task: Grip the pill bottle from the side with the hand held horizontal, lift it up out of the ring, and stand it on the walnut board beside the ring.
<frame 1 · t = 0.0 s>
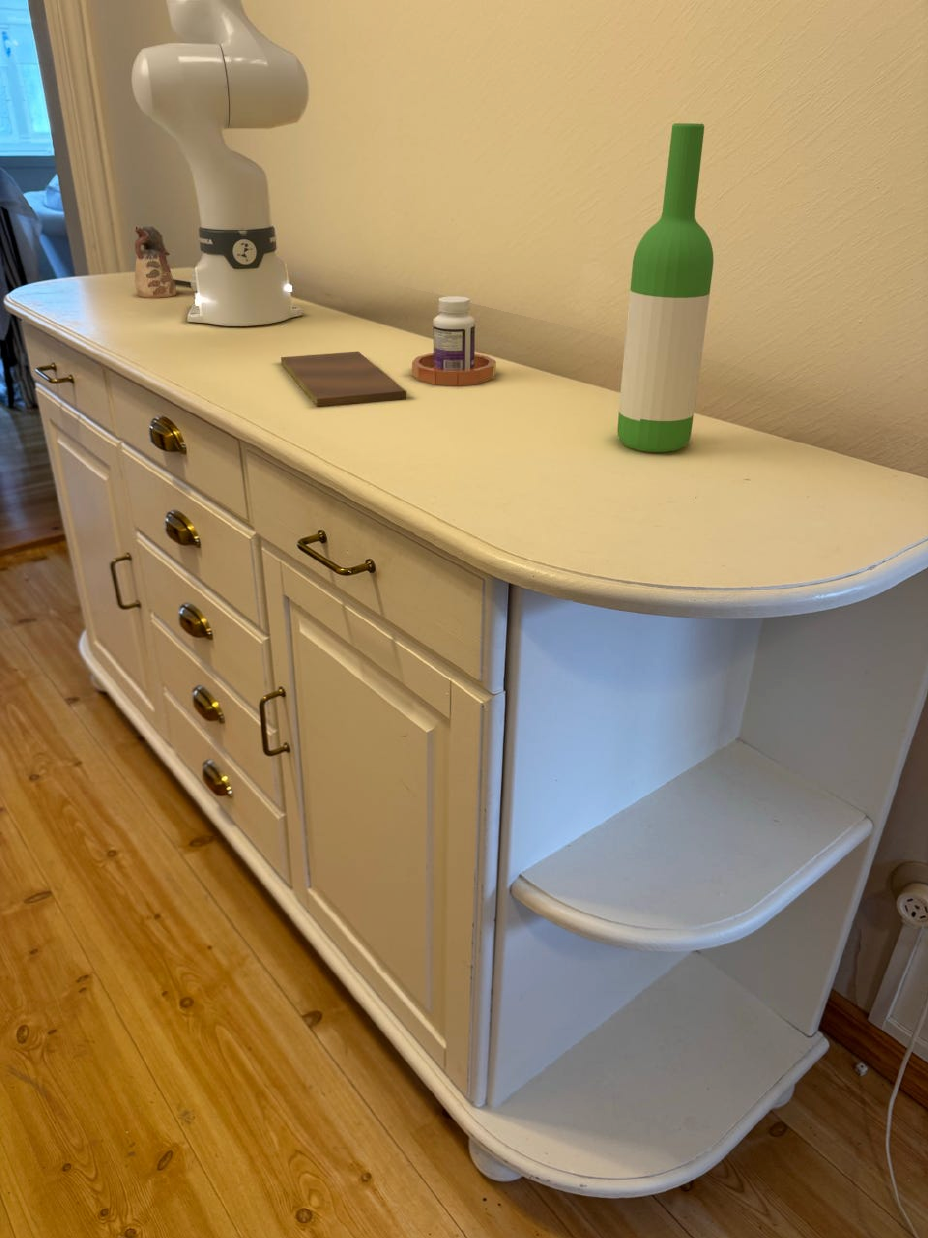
board: (340, 380, 120), on the table
wine bottle: (652, 445, 98), on the table
figurine: (157, 295, 173), on the table
pill bottle: (453, 376, 123), resting in ring
ring: (453, 374, 123), on the table
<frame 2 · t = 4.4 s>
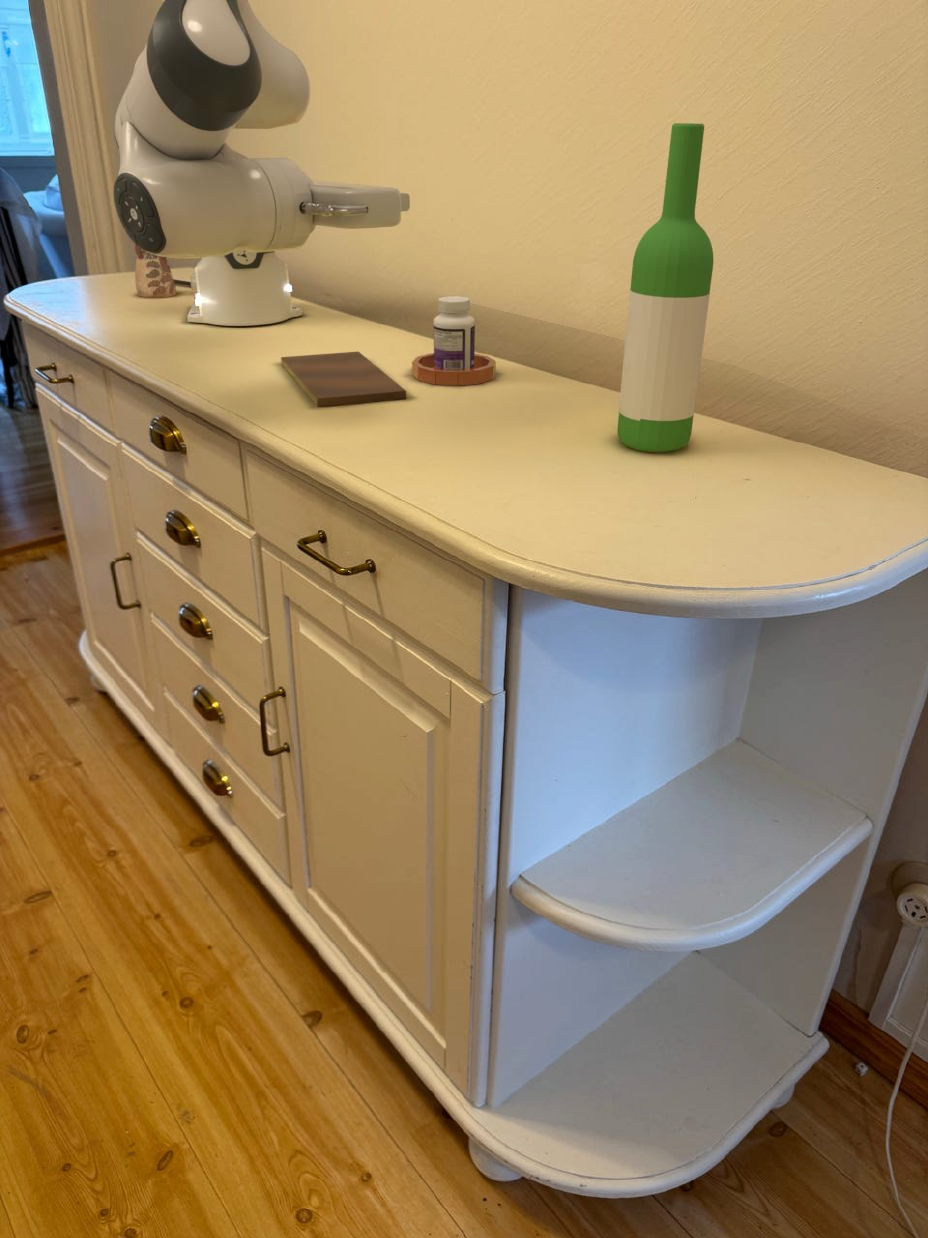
hand: (378, 198, 105), 22 cm above the table, tool horizontal, fingers open, 8 cm apart
nothing on the table moved.
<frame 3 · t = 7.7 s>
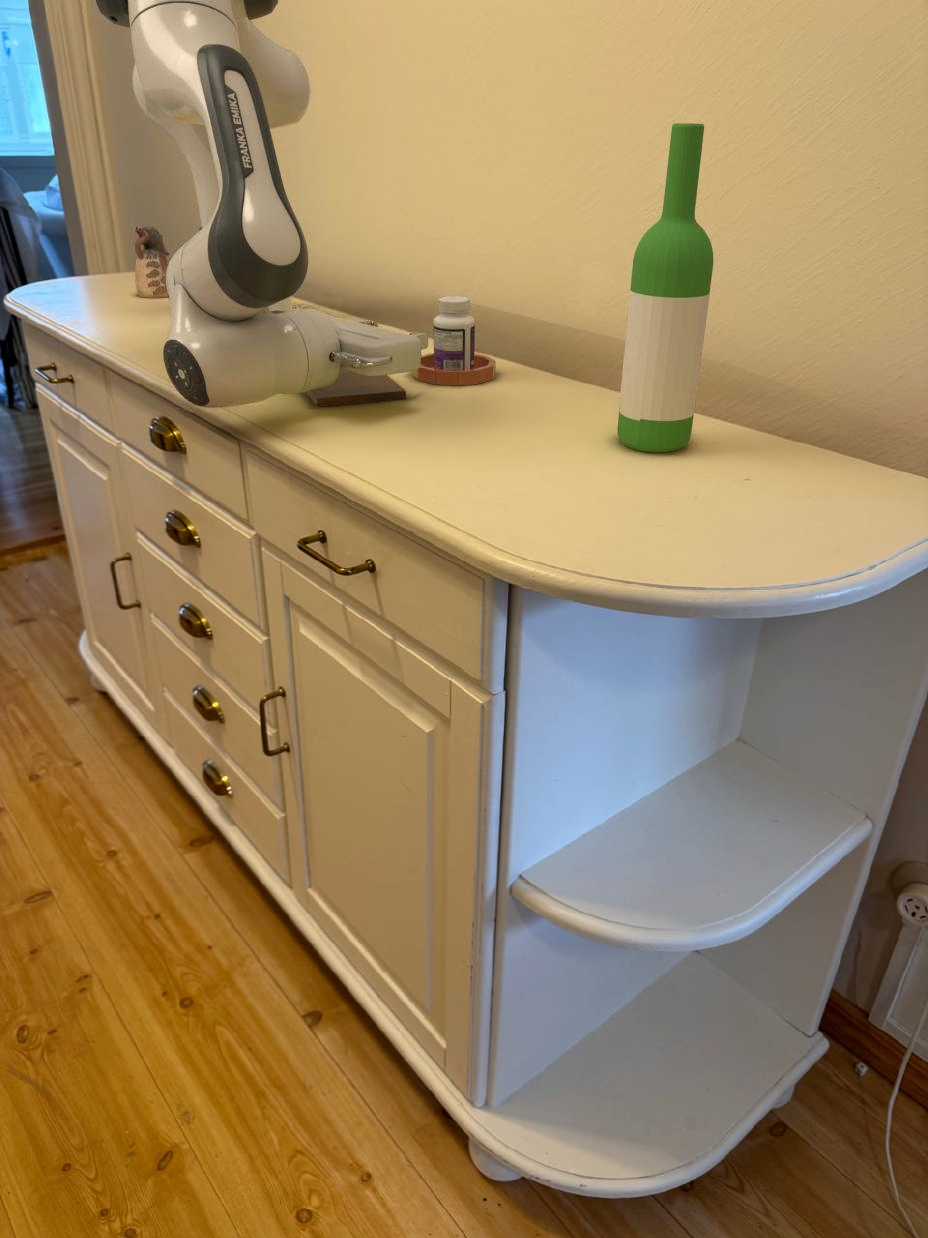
hand: (398, 333, 114), 7 cm above the table, tool horizontal, fingers open, 8 cm apart
nothing on the table moved.
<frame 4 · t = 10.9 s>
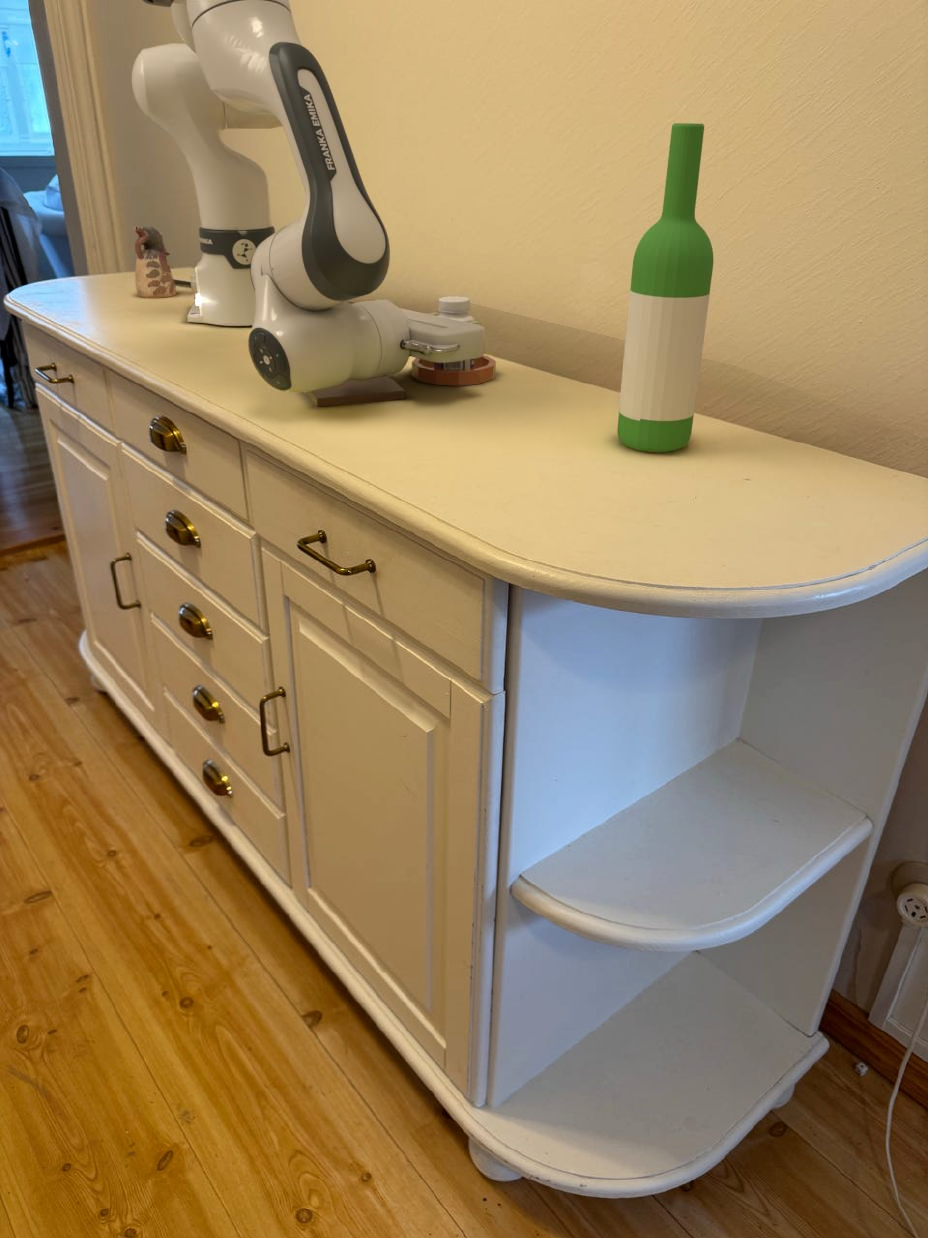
hand: (458, 323, 120), 7 cm above the table, tool horizontal, fingers closed on pill bottle, 5 cm apart
pill bottle: (454, 376, 123), resting in ring, touching gripper
everything else where it was.
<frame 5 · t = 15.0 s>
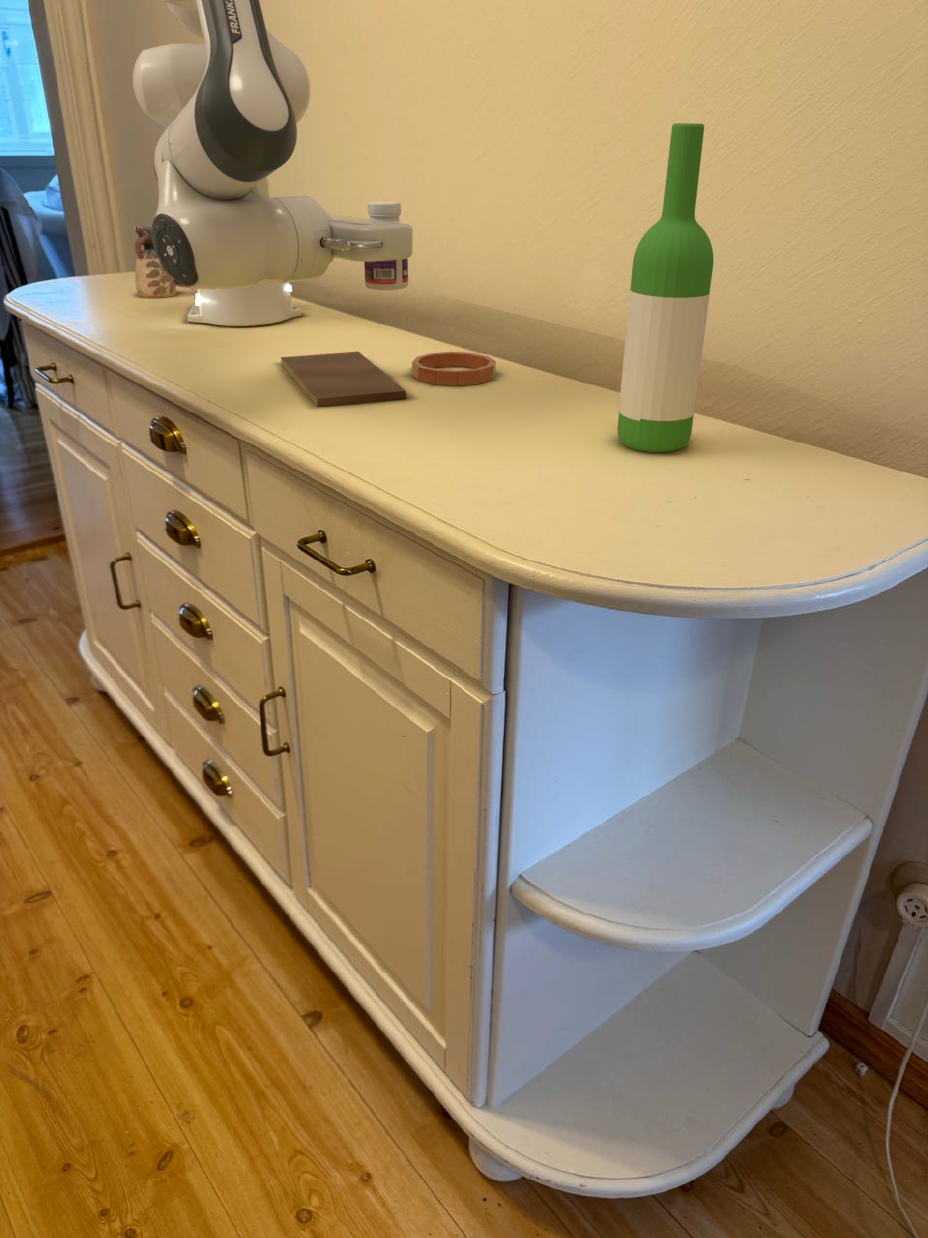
hand: (390, 230, 113), 18 cm above the table, tool horizontal, fingers closed on pill bottle, 5 cm apart
pill bottle: (386, 288, 116), point 11 cm above the table, touching gripper
everything else where it was.
when the fingers open (7 cm above the table, at t = 19.3 s): pill bottle stays where it is, resting on board.
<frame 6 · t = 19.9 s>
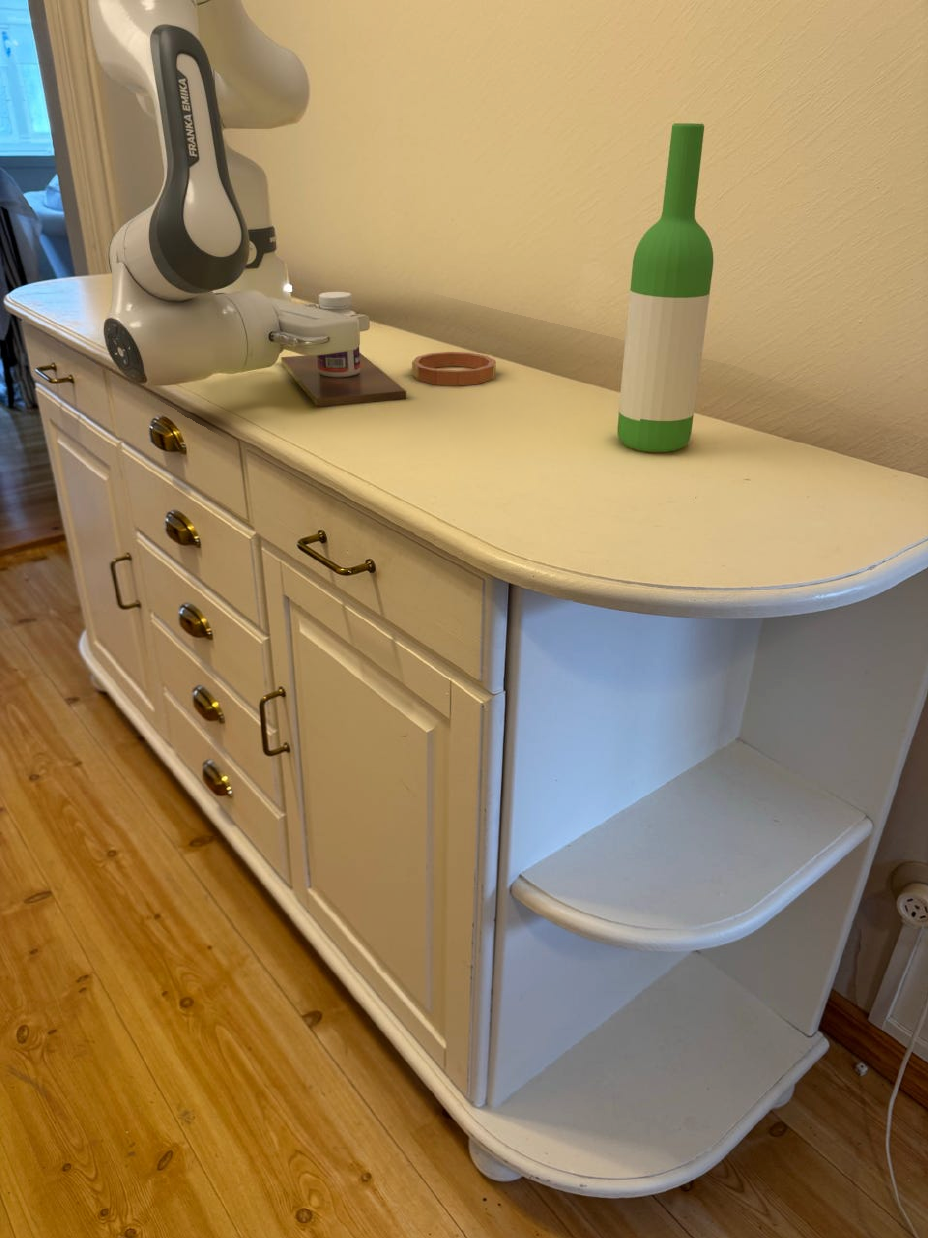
hand: (342, 315, 117), 8 cm above the table, tool horizontal, fingers open, 8 cm apart
pill bottle: (339, 374, 119), point 1 cm above the table, touching board
everything else where it was.
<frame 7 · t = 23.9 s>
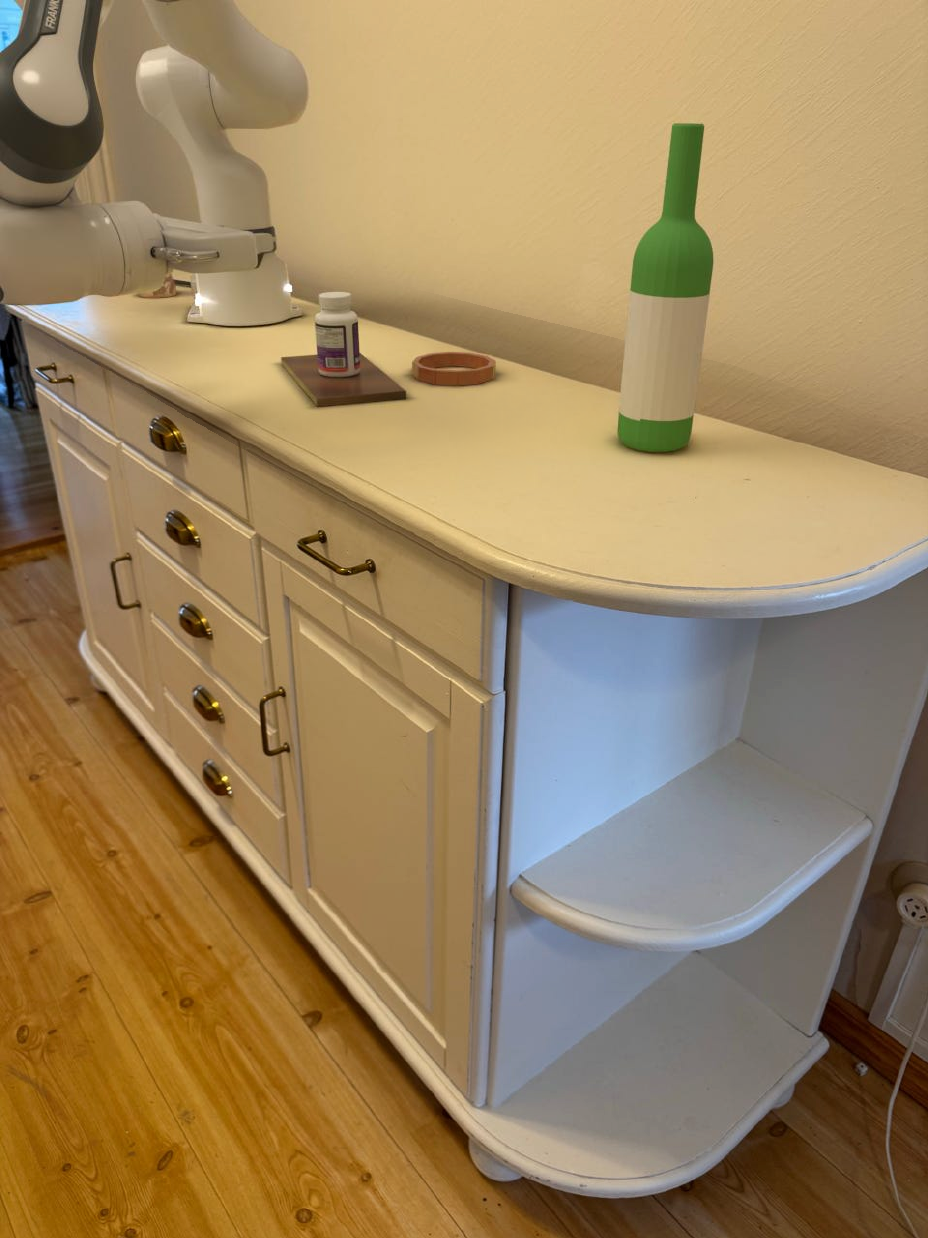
hand: (245, 237, 104), 18 cm above the table, tool horizontal, fingers open, 8 cm apart
nothing on the table moved.
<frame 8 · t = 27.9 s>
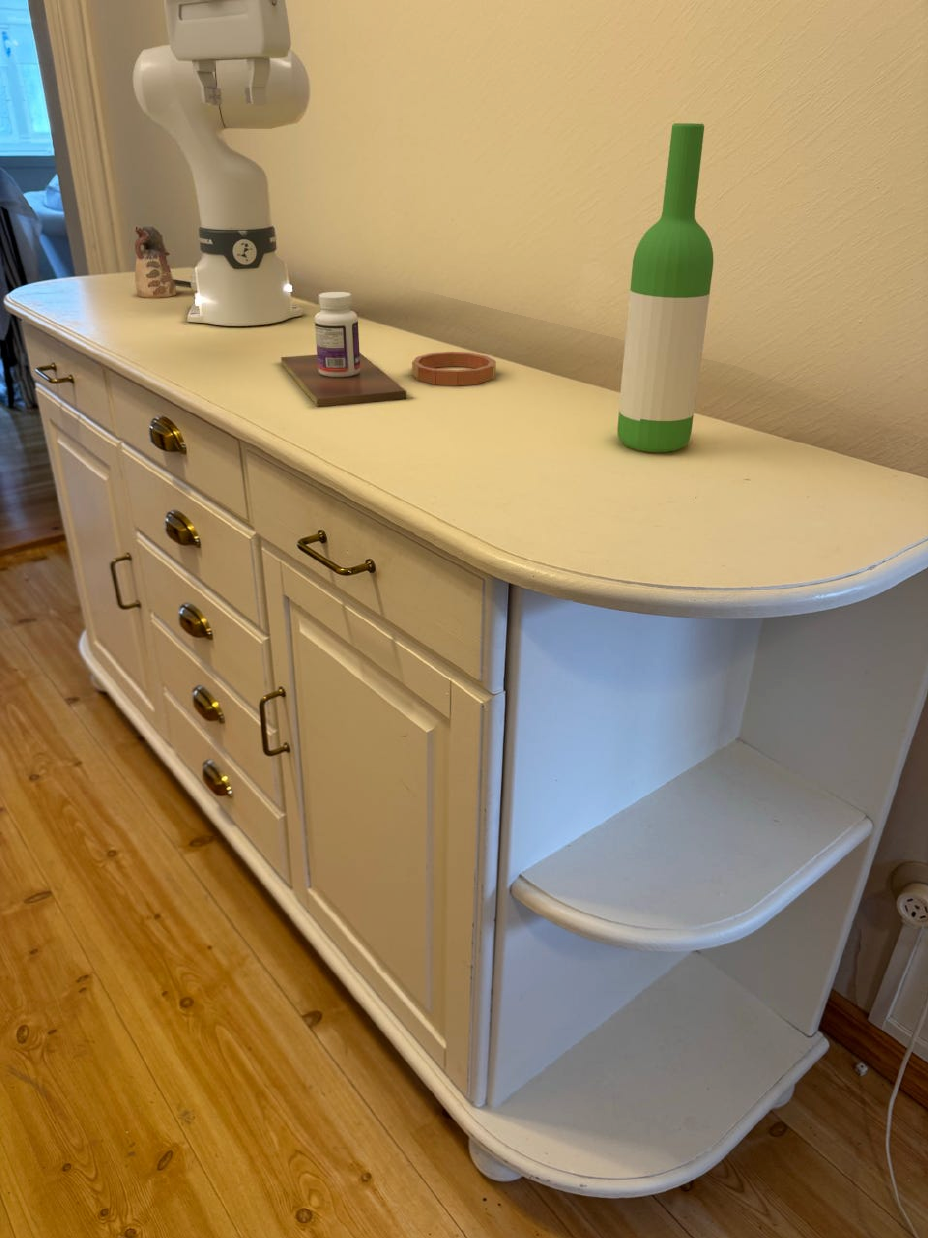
hand: (234, 105, 109), 31 cm above the table, tool pointing down, fingers open, 8 cm apart
nothing on the table moved.
at the end: pill bottle inside the target area on the board (0.2 cm from its centre), point 0.8 cm above the board's base; pill bottle tilted 0°; the gripper is holding nothing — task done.
